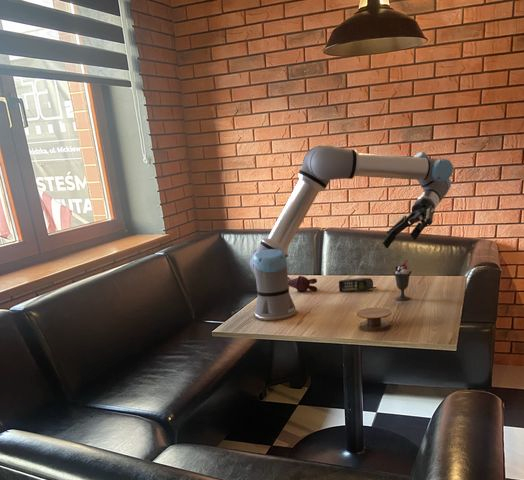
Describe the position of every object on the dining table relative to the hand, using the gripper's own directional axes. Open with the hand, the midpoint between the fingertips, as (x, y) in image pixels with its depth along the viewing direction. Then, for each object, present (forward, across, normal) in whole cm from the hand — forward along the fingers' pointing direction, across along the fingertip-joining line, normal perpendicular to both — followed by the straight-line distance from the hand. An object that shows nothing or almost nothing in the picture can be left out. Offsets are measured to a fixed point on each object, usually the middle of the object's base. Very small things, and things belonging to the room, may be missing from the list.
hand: (398, 241), depth 193 cm
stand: (+37, -7, -8) cm, 39 cm away
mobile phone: (+6, +28, -13) cm, 32 cm away
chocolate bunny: (+16, +47, -1) cm, 50 cm away
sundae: (+9, +6, -19) cm, 22 cm away
